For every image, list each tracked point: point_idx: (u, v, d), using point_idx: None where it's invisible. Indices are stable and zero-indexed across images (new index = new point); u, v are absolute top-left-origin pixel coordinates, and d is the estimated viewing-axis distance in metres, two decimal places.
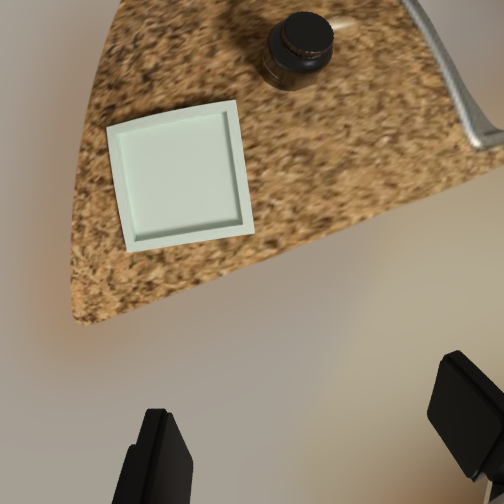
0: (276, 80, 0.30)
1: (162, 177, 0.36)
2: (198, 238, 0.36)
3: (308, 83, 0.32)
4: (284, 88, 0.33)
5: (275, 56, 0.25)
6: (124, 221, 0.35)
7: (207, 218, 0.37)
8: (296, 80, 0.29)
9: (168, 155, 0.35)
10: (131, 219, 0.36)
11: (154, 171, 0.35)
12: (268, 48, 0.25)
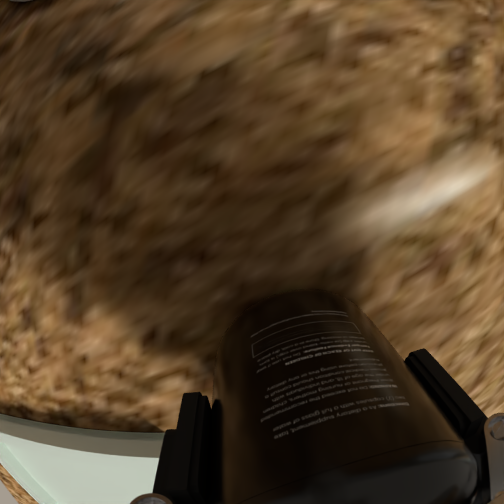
0: None
1: (76, 491, 0.15)
2: None
3: None
4: None
5: None
6: None
7: None
8: None
9: (72, 476, 0.14)
10: None
11: (62, 483, 0.14)
12: None
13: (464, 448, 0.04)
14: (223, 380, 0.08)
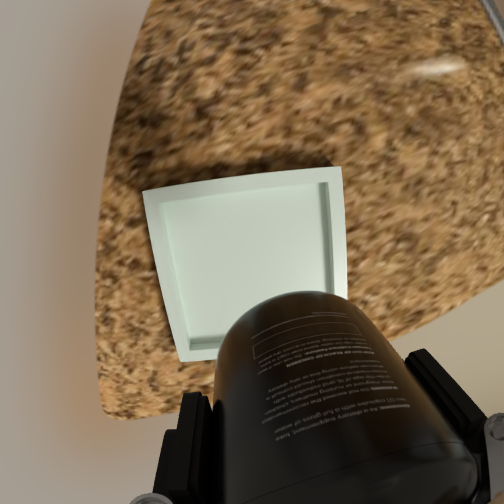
0: None
1: (229, 269, 0.27)
2: None
3: None
4: None
5: None
6: (175, 326, 0.27)
7: None
8: None
9: (238, 238, 0.26)
10: (184, 321, 0.27)
11: (217, 260, 0.26)
12: None
13: (464, 450, 0.04)
14: (224, 382, 0.08)
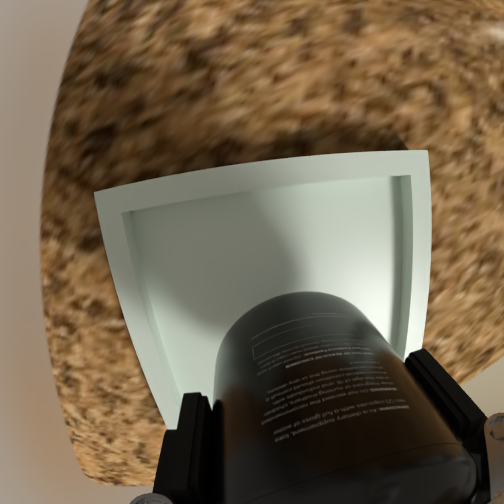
0: None
1: None
2: None
3: None
4: None
5: None
6: (163, 402, 0.16)
7: None
8: None
9: (262, 270, 0.15)
10: (176, 394, 0.16)
11: (226, 305, 0.16)
12: None
13: (464, 451, 0.04)
14: (224, 383, 0.08)
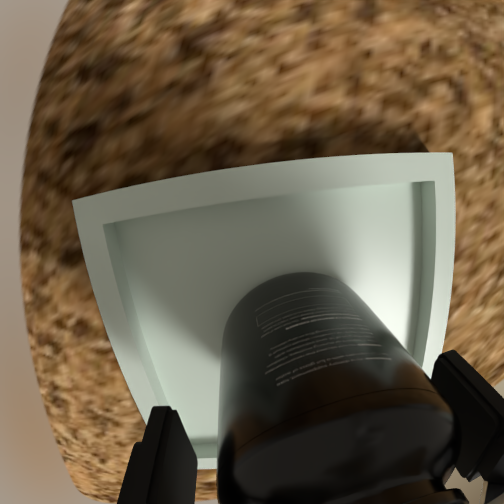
0: None
1: None
2: None
3: None
4: None
5: None
6: None
7: None
8: None
9: None
10: None
11: None
12: None
13: (443, 400, 0.05)
14: (231, 349, 0.10)
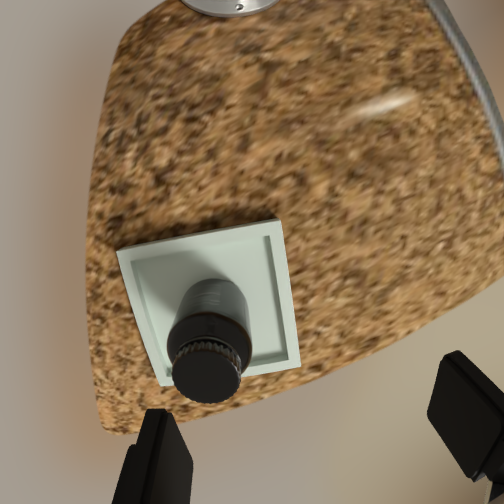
0: None
1: None
2: None
3: None
4: None
5: None
6: (153, 357, 0.31)
7: None
8: None
9: None
10: (160, 353, 0.31)
11: None
12: None
13: (231, 317, 0.23)
14: (179, 307, 0.27)
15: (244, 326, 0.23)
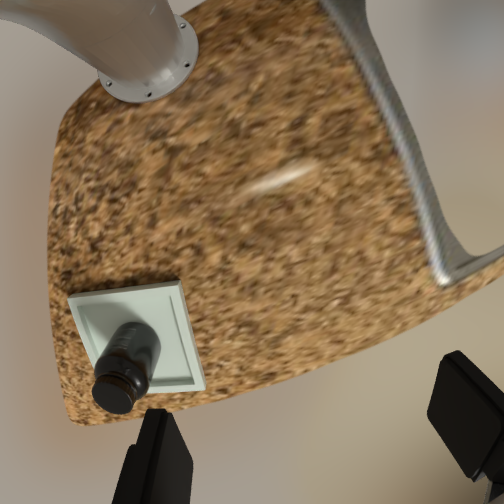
0: None
1: None
2: (159, 390, 0.39)
3: None
4: None
5: None
6: None
7: (165, 374, 0.40)
8: None
9: None
10: None
11: None
12: None
13: (132, 360, 0.30)
14: None
15: (141, 365, 0.31)
